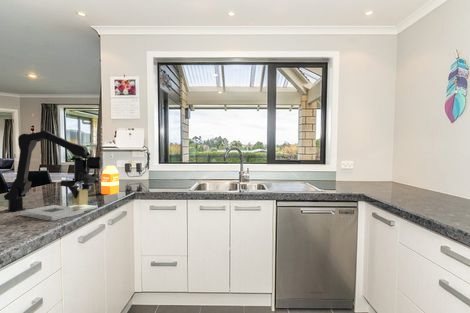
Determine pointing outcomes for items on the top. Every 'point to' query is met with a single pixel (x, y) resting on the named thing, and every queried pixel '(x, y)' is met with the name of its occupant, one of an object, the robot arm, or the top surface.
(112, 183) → the orange juice
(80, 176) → the robot arm
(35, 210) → the hole plate
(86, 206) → the pad
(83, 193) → the tan wooden block
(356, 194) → the top surface
